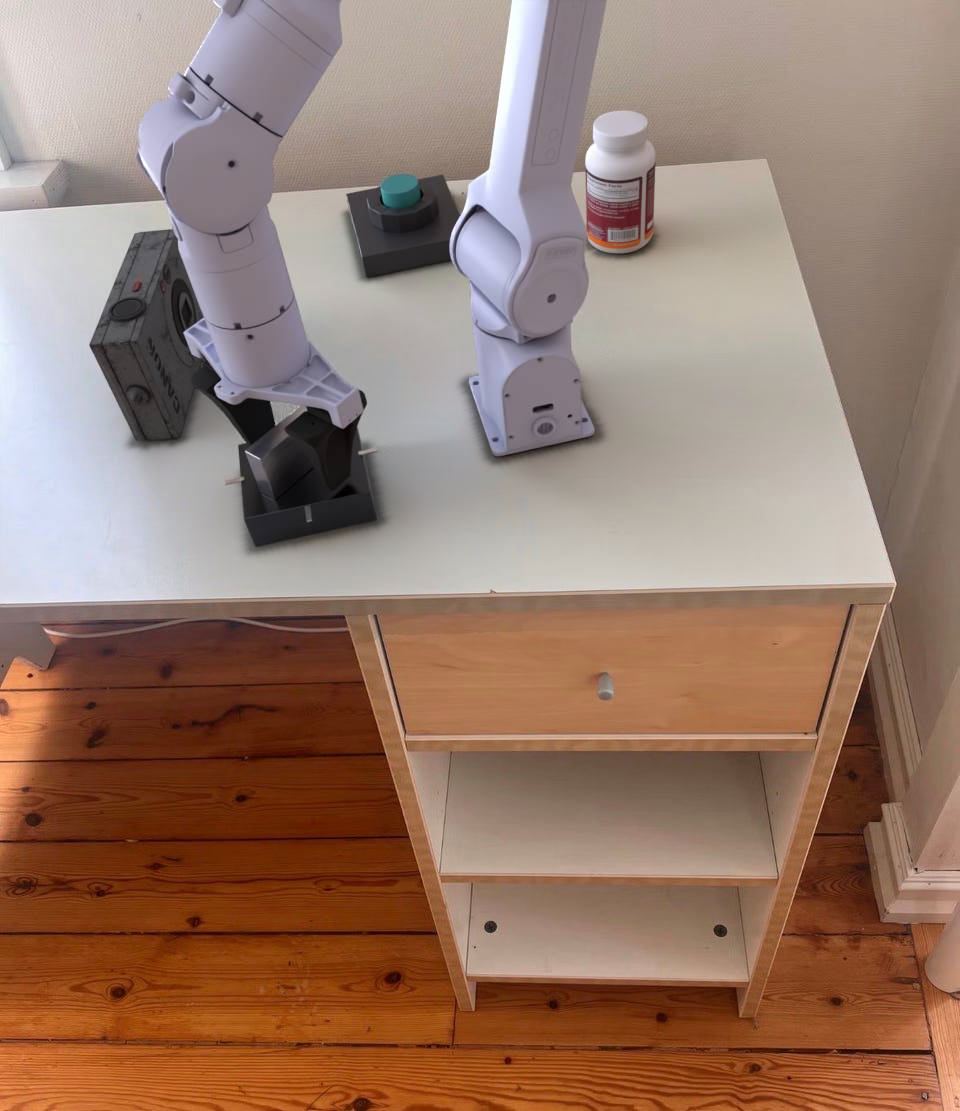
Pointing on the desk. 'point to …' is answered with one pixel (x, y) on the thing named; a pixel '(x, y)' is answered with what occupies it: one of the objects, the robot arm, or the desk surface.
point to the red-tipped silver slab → (278, 458)
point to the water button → (400, 191)
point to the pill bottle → (620, 183)
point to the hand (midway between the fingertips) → (299, 460)
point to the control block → (403, 228)
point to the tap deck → (306, 502)
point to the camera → (149, 337)
